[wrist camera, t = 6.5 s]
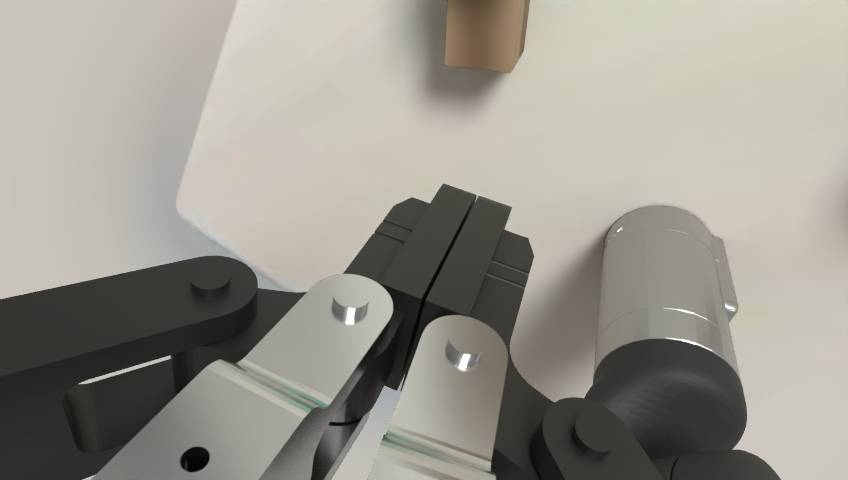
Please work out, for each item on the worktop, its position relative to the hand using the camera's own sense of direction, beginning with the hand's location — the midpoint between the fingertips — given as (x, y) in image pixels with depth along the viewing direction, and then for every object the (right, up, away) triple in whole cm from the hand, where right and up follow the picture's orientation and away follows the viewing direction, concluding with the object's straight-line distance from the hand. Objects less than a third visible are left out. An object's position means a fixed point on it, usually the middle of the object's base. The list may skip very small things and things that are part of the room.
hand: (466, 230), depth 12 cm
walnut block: (+5, +18, +32) cm, 37 cm away
